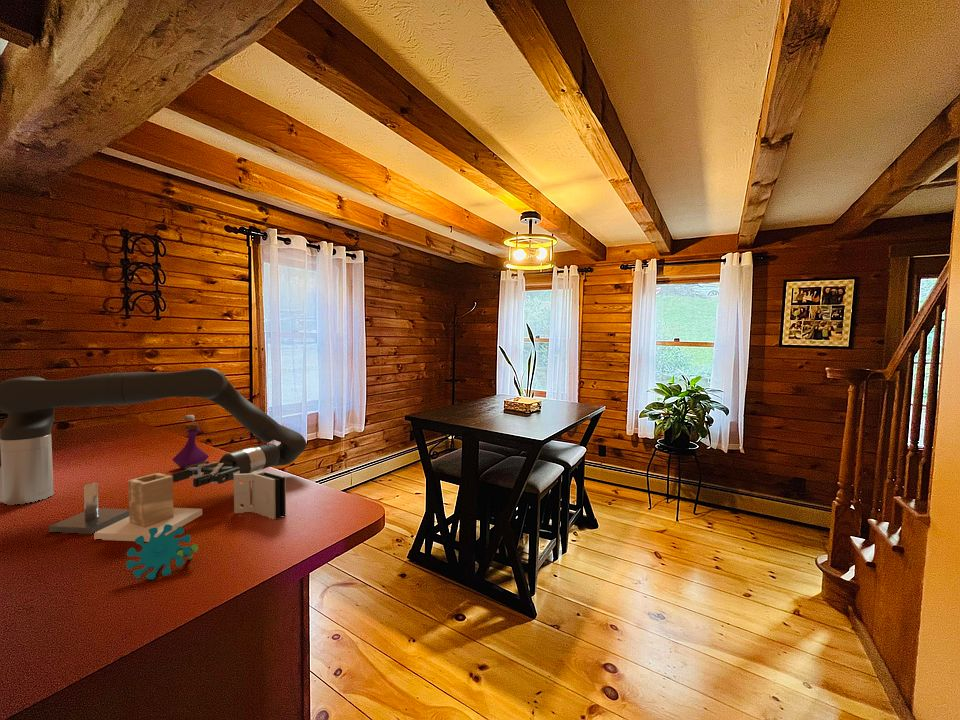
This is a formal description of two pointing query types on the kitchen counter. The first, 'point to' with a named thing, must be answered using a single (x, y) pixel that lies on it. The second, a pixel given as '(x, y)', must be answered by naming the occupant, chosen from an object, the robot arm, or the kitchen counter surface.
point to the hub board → (131, 531)
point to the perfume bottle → (190, 448)
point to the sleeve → (150, 499)
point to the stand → (90, 515)
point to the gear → (160, 552)
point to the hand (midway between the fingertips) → (183, 480)
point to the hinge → (260, 493)
